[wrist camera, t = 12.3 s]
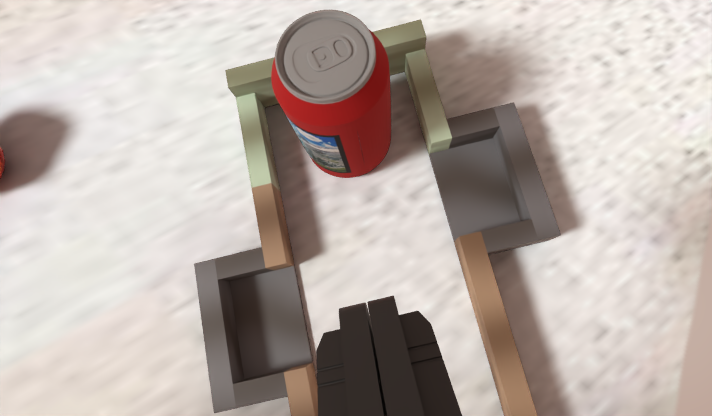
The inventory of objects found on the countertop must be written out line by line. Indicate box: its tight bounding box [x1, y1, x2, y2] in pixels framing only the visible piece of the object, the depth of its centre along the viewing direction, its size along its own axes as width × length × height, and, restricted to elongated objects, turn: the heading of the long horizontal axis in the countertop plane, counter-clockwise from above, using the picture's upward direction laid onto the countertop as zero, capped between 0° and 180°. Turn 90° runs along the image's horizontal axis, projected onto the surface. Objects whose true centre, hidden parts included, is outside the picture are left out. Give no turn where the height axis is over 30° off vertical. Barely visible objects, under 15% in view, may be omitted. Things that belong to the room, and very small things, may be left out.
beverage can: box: [271, 10, 391, 178], centre depth 28 cm, size 7×7×12 cm
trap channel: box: [194, 20, 561, 416], centre depth 29 cm, size 31×25×4 cm
